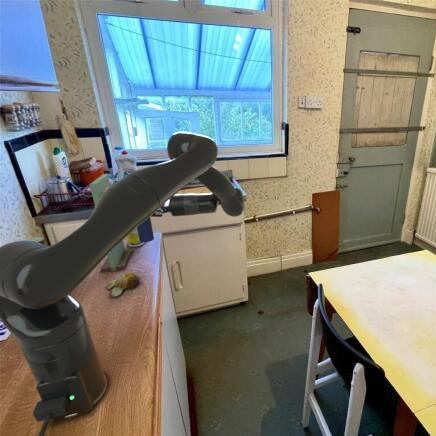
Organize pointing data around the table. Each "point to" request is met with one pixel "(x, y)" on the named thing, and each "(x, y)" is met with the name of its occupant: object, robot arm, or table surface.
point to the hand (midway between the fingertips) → (131, 208)
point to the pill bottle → (134, 239)
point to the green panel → (119, 254)
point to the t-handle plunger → (145, 231)
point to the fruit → (124, 283)
